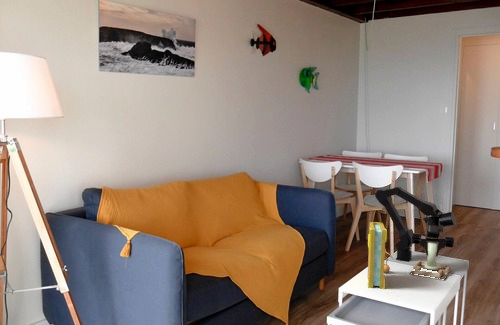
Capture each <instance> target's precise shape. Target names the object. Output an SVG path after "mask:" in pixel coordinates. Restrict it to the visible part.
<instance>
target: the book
mask: <svg viewBox="0 0 500 325" xmlns="http://www.w3.org/2000/svg"><path fill="white" fill-rule="evenodd" d="M368 228H369V231H368V234H367V247H368V258H367V259H368V261H367V263H368V264H367V288H369V289H374V287H375V286H377V287H379V290H381V289H382V290H385V286H386V277H385V273H384V264H385V262H386V261H385V260H386V259H385V249H386V242H387V237H388V234H387V233H388V231H387V228H385V225H384V223H383V222H378V221H371V222H369V227H368Z"/></svg>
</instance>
